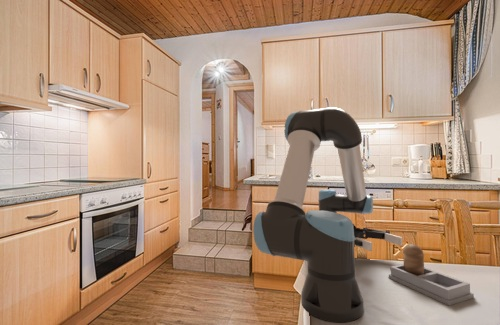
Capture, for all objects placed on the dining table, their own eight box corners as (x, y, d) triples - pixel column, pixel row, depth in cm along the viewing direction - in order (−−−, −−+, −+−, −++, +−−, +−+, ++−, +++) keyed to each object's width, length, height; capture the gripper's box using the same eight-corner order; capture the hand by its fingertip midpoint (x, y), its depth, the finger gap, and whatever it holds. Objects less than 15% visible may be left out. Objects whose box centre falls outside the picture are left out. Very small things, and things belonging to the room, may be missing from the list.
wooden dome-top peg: (408, 281, 76) (407, 247, 76) (401, 273, 82) (400, 241, 82) (427, 282, 76) (426, 247, 76) (419, 274, 81) (418, 242, 81)
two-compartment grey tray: (388, 277, 81) (388, 266, 81) (410, 272, 85) (410, 261, 85) (449, 305, 65) (448, 291, 65) (473, 297, 68) (473, 284, 69)
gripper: (366, 235, 112) (413, 250, 92) (317, 242, 103) (357, 261, 83) (366, 217, 112) (412, 228, 92) (317, 223, 103) (357, 237, 83)
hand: (386, 244), depth 87 cm, fingers open, 13 cm apart
